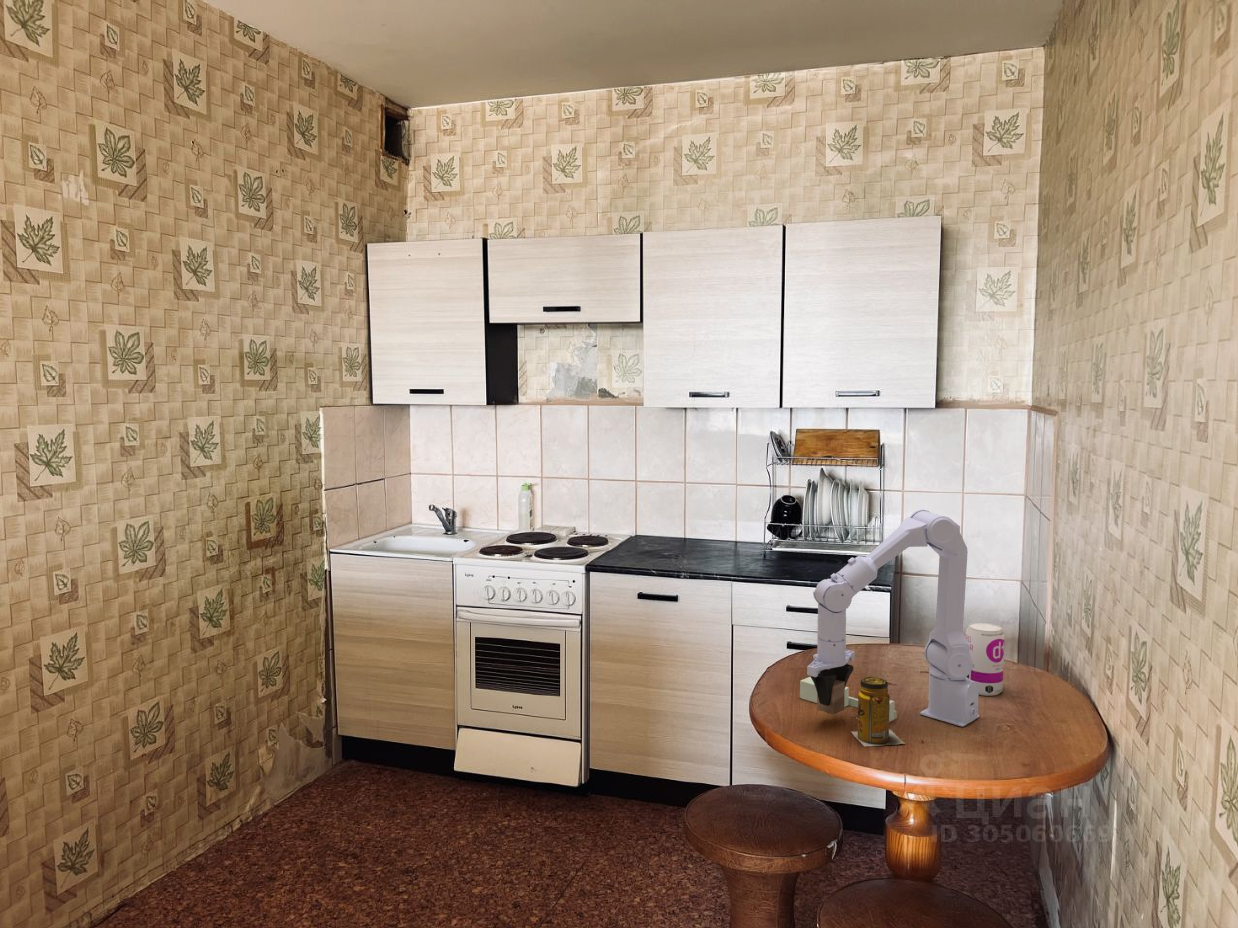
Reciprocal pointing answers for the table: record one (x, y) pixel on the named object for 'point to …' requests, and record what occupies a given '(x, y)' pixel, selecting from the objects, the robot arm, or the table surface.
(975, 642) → the supplement can
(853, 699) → the sage bar
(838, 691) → the walnut key block
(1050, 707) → the table surface
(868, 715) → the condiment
